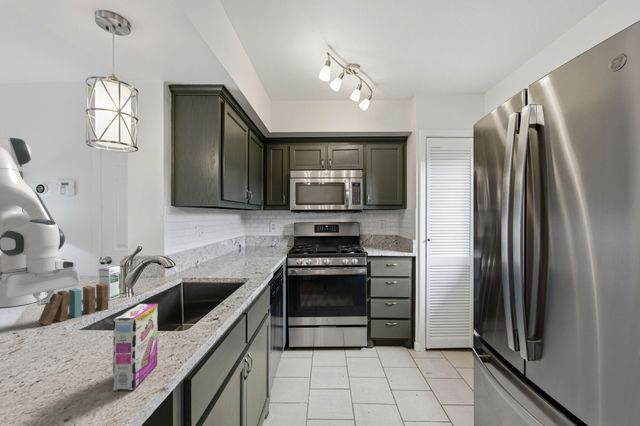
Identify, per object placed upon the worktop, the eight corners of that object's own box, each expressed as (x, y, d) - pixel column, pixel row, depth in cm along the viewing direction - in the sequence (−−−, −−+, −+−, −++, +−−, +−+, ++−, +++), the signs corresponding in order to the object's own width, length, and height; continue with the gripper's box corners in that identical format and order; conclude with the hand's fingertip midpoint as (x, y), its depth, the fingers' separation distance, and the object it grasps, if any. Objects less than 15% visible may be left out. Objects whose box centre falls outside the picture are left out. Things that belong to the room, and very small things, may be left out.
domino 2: (60, 321, 105) (63, 293, 106) (54, 319, 107) (57, 291, 108) (66, 320, 106) (70, 292, 107) (60, 317, 109) (64, 290, 110)
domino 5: (102, 310, 117) (102, 285, 116) (96, 308, 119) (96, 284, 119) (108, 309, 118) (107, 284, 118) (101, 307, 121) (101, 283, 121)
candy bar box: (135, 391, 65) (135, 318, 65) (112, 392, 65) (111, 319, 64) (159, 364, 76) (158, 302, 76) (139, 365, 76) (138, 303, 76)
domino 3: (75, 314, 113) (75, 288, 113) (81, 316, 110) (81, 290, 110) (69, 315, 111) (68, 289, 111) (75, 318, 109) (74, 291, 109)
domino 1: (44, 324, 101) (56, 295, 104) (38, 321, 103) (50, 293, 106) (51, 324, 103) (63, 295, 106) (45, 321, 105) (57, 293, 108)
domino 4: (89, 314, 113) (89, 288, 112) (83, 312, 115) (82, 286, 115) (95, 312, 114) (95, 287, 114) (89, 310, 117) (88, 285, 117)
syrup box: (109, 300, 129) (109, 268, 129) (98, 299, 131) (98, 267, 130) (120, 296, 135) (120, 265, 135) (110, 296, 136) (110, 265, 136)
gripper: (4, 271, 92) (4, 315, 92) (81, 261, 110) (82, 298, 110) (-3, 269, 95) (-2, 311, 95) (74, 260, 113) (74, 295, 113)
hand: (43, 304), depth 103 cm, fingers closed
